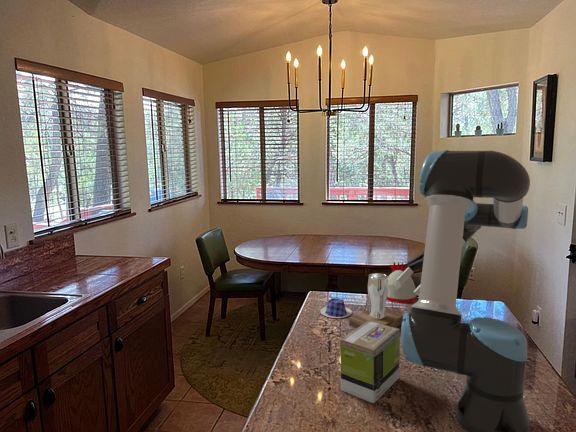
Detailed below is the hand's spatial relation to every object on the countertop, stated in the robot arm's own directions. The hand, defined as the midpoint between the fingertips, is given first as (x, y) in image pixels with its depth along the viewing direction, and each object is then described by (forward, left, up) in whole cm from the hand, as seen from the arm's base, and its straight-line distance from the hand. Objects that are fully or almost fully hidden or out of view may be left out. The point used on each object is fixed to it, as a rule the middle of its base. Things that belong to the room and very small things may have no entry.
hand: (407, 288), depth 150 cm
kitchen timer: (+20, +17, -13) cm, 29 cm away
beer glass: (-9, +6, -10) cm, 15 cm away
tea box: (-41, -17, -13) cm, 47 cm away
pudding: (-12, +23, -13) cm, 29 cm away
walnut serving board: (-9, +6, -13) cm, 17 cm away
